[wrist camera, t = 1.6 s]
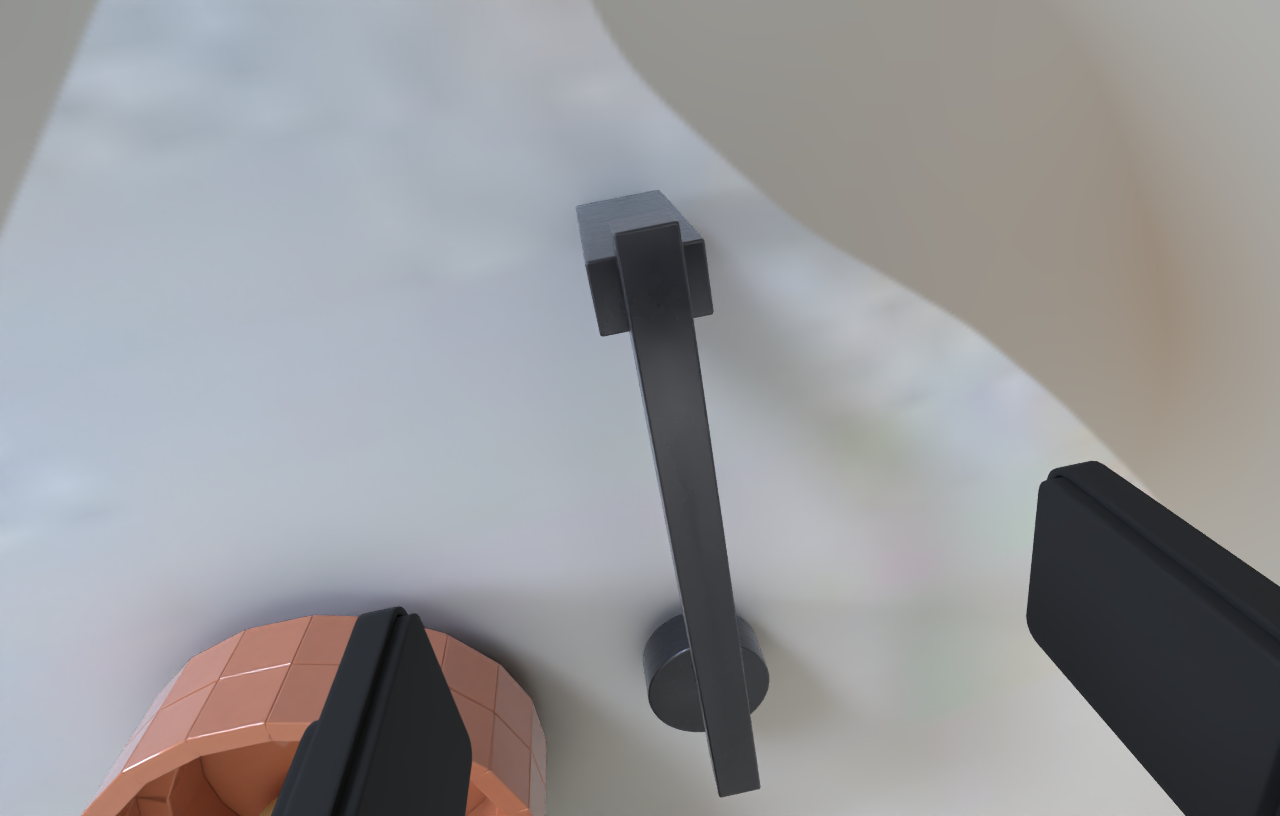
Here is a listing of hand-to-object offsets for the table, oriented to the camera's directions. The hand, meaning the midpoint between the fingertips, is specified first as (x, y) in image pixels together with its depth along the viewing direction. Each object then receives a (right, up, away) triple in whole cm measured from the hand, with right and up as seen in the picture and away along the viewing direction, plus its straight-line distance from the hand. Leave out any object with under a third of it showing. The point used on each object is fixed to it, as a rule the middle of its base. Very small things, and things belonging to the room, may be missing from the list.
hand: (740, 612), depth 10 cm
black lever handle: (0, 0, +13) cm, 13 cm away
